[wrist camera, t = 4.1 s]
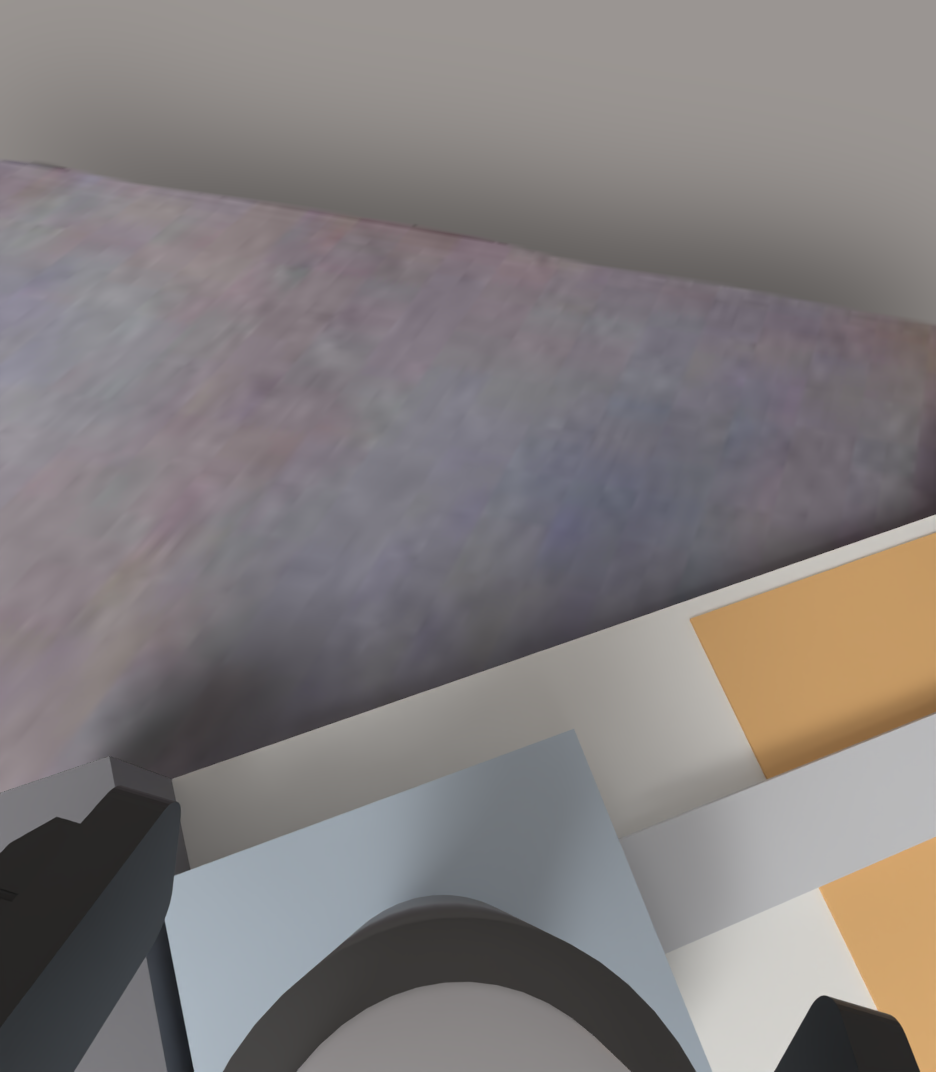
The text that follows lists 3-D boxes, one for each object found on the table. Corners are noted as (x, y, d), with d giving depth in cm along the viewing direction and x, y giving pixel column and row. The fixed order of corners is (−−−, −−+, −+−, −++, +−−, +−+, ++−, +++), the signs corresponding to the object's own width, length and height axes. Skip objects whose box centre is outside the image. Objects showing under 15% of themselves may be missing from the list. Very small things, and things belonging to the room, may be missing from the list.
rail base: (997, 503, 24) (1146, 407, 19) (1267, 904, 20) (1549, 916, 15) (67, 828, 19) (-59, 812, 14) (166, 1451, 15) (37, 1739, 10)
